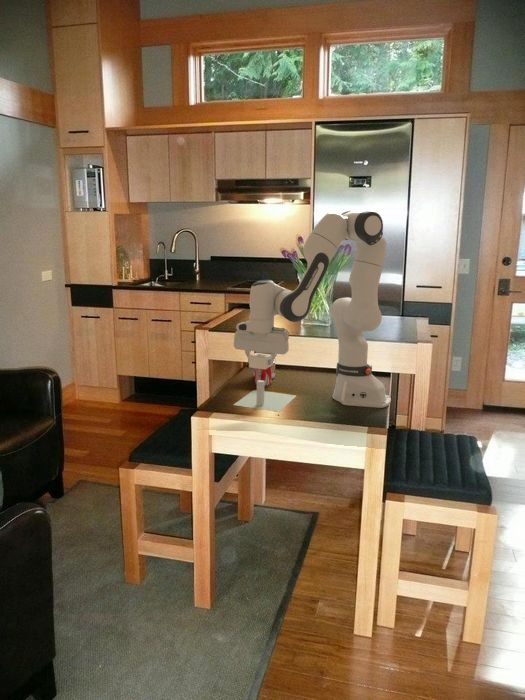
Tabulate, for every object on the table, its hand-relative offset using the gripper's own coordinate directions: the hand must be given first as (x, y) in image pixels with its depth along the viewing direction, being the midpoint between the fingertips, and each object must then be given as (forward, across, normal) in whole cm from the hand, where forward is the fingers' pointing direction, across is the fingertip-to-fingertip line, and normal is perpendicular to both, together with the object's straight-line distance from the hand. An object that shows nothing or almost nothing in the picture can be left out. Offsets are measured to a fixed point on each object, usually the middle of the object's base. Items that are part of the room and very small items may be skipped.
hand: (260, 363), depth 200 cm
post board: (+17, 0, -6) cm, 18 cm away
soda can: (+17, +9, -26) cm, 32 cm away
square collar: (+1, 0, 0) cm, 1 cm away
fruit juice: (+17, +14, -40) cm, 45 cm away
